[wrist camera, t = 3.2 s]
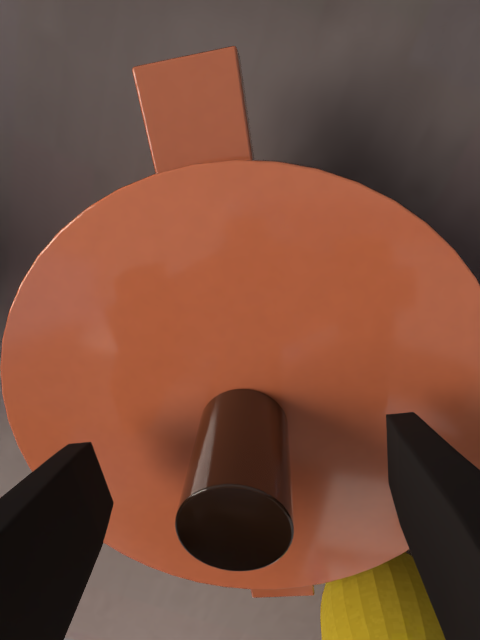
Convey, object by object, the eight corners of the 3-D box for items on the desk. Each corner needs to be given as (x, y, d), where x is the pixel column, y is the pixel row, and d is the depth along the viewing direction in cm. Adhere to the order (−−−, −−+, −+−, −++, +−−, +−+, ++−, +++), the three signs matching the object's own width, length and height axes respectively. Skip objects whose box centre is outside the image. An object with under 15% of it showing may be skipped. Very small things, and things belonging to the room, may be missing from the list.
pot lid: (507, 108, 9) (707, 80, 5) (474, 549, 14) (558, 718, 10) (-56, 207, 11) (-260, 247, 7) (98, 568, 16) (37, 718, 12)
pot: (417, 39, 12) (505, -21, 8) (418, 498, 19) (464, 610, 15) (24, 118, 14) (-98, 107, 9) (154, 515, 21) (120, 621, 16)
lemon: (386, 597, 22) (445, 828, 15) (293, 560, 21) (303, 781, 14) (451, 531, 20) (557, 762, 12) (349, 488, 19) (397, 704, 12)
